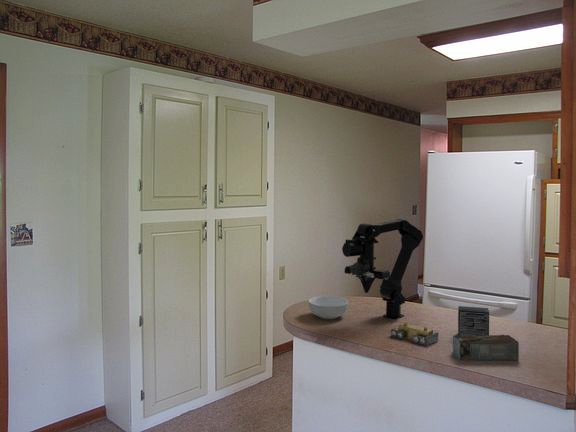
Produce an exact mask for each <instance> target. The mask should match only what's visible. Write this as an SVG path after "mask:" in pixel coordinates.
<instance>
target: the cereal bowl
mask: <svg viewBox="0 0 576 432" xmlns="http://www.w3.org/2000/svg"><path fill="white" fill-rule="evenodd" d="M308 308H309V311H310V312H311V313H312V314H313V315H314V316H317V317H319V318H320V319H322V320H335V319H337V318H338V317H341V316H344V314H345V313H347V311H348V310H349V300H348V299H347V298H345V297H343V296H342V297H341V296H336V295H318V296H314V297H312V298H311V297H310V298H309V299H308Z"/></svg>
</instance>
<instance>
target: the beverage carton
mask: <svg viewBox="0 0 576 432" xmlns="http://www.w3.org/2000/svg"><path fill="white" fill-rule="evenodd" d="M519 345H520V344H519V341H518V340H517V339H515V338H514V337H512V336H511V335H509V334H500V335H499V334H498V335H497V334H496V335H493V334H491V335H490V334H489V335H486V336H485V335H483V336H458V335H452V353H453V354H454V355H455V356H456V357H457V358H458V360H459V361H518V360H519V359H520V358H519V357H520V353H519V347H520V346H519Z"/></svg>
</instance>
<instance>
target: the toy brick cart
mask: <svg viewBox="0 0 576 432" xmlns="http://www.w3.org/2000/svg"><path fill="white" fill-rule="evenodd" d="M390 337H393V338H395V339H401V340H404V339H405V338H404V332H402V331H398V329H394V328H392V329H390ZM436 342H439V331H434V332H433V334H431V335H429V336H426V337H422V336H418V335H413V340H412V343H416V344H417V345H418V344H419V345H423V346H425V347H429V346H431V345H432V344H435V343H436Z"/></svg>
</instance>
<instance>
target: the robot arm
mask: <svg viewBox="0 0 576 432" xmlns="http://www.w3.org/2000/svg"><path fill="white" fill-rule="evenodd" d="M356 229H357V230H356V231H355V233H354V235H353V236H352V239H349V238H347V239H345V242H344V243H343V245H342V248H341V249H342V250H341V251H342V255H344V257H347V258H351V257H357V260H356V262H355V263H353V264H351V265H347V266H345V267H344V274H348V275H352V276H355V277H356V278H357V279H359V280H360V283H361V285H362V288H363V291H364V293H365V294H367V293H369V292H370V289H371V287H372V285H373V283H374V281H375V280H376V279H378V280H382V282H381V284H380V286H379V288H380V289H379V293H380V295H381V299H382V301H384V302H386V303H385V304H386V305H385V306H386V307H385V313H384V314H383V317H386V318H389V319H395V320H397V319H400V318H402V317H405V315H404V314H402V312H401V310H402V305H403V304H405V303H406V300H407V298H406V297H405V296H404V295H403V294H402V290H403V286H402V285H403V284H402V279H403V277H404V275H405V272H406V270H407V268H408V266H409V263H410V259H411V257H412V255H413V252H414V250H415V249H417V248H418V247H419V246H420V244H421V242H422V240H423V238H424V235H423V232H422V231H421V230H420V229H418V228H417V227H416V226H414V225H413V224H412V223H410V222H409V221H408V220H407V219H403V218H402V219H401V218H397V219H393V220H390V221H384V222H379V223H360V224H359V225H358V227H357V228H356ZM394 231H398V232H397V233H399V235H400V236H401V239H400V242H401V247H400V249H399V252H398V255H397V259H396V261H395V262H394V265H393V268H392V270H391V272H390V271H389V270H388V269H381V268H380V269H376V268H377V266H375V260H377V259H376V256H375V244H378V243H379V241H378V240H377V239H376V238H377V237H379V235H381V234H384V233H385V234H386V233H389V232H394Z"/></svg>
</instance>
